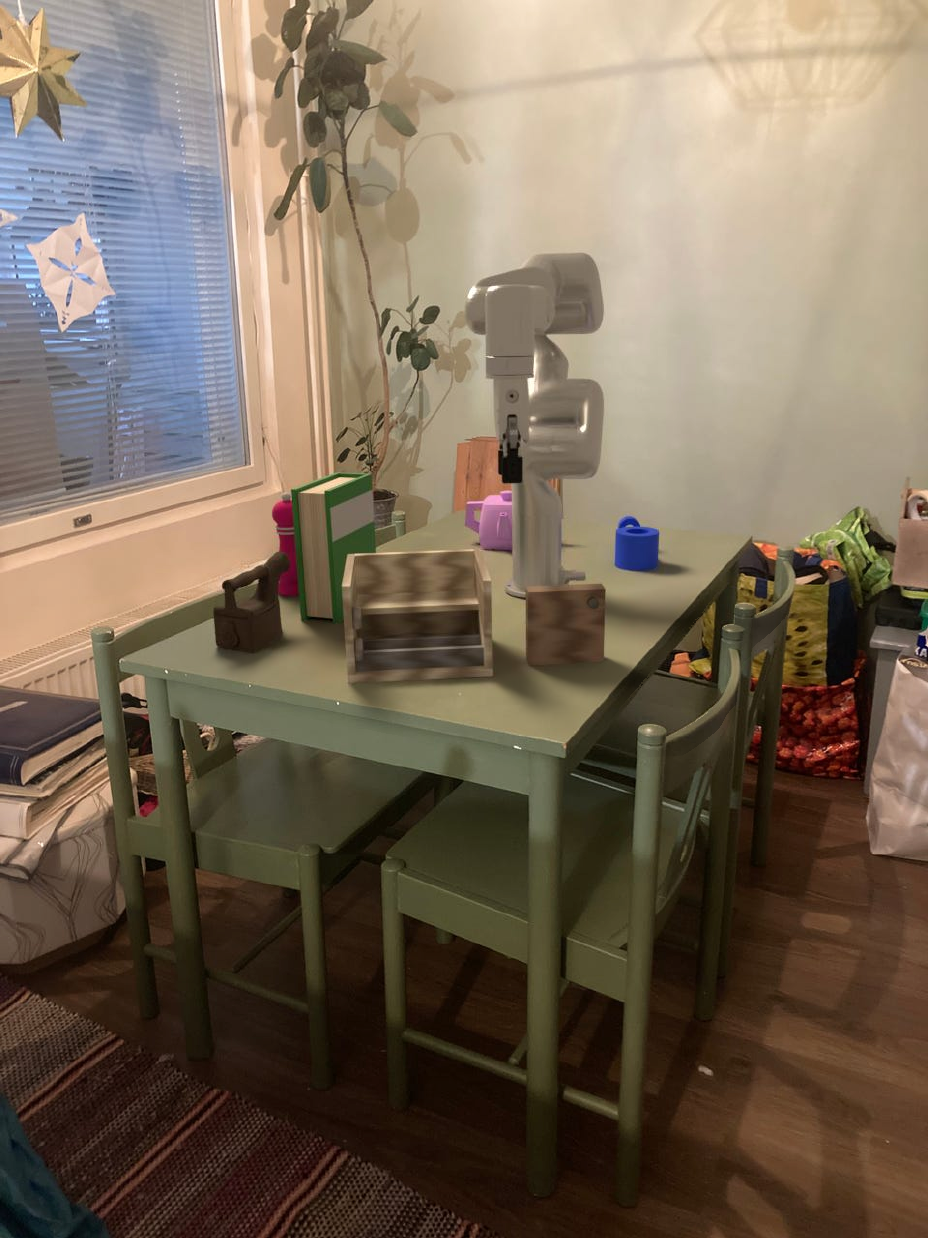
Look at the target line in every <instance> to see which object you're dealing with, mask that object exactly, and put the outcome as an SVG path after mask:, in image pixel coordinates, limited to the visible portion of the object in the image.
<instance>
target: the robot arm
mask: <svg viewBox="0 0 928 1238" xmlns="http://www.w3.org/2000/svg"><path fill="white" fill-rule="evenodd" d="M602 290H603V289H602V283H601V277H600V273H599V269H598V265H597V263H596V262H595V260H594V259H593V257H592V256H591V255H590V254H587V253H586V252H585V253H584V252H562V253H560V252H559V253H558V252H557V253H553V252H552V253H539V254H534V255H533V256H532V255H531V256H530V257H528V258H527V259H526V260H525V261H524V262H523V263H522V264H521V265H520V266H519V268H516V269H512V270H509V271H505V272H503V273H498V274H493V275H491V276H488V277H485V278H482V279H479V280H478V281H477V282H476V283H474V284H473V286H472V287H471V288H470V290H469V292H468V293H467V296H466V299H465V304H464V319H465V323H466V325H467V327H468V329H469V331H471V332H472V333H474V335H479V336H485V379H488V380H490V379H491V380H493V382H492V383H493V385H492V386H493V417H494V418H493V419H494V429H495V431H494V432H495V438H496V440H497V442H498V449H499V450H497V473H498V475H500V476H501V482H502V484H507V485H508V484H510V487H511V491H512V550H511V551H512V579H509V580H507V581H505V583H504V591H505V592H506V593H507V594H509V595H510V596H514V597H517V598H522V599H523V598H525V599H526V587H531V586H555V585H570V581H573V582H574V581H575V582H581V581H582V582H583V581H586V571H585V570H577V569H576V568H574V569H565V568H564V567H563V565H562V535H563V534H562V533H563V531H562V529H563V527H562V524H563V523H562V521H563V519H562V518H563V517H562V514H563V513H562V512H563V509H562V508H563V504H562V499H561V496H560V494H559V492H558V491H557V489H556V488H555V487H554V486H553V485H552V483H551V482H550V481H549V480H558V479H559V480H586V479H591V478H593V477H594V476H595V475H596V474H597V473H598V471H599V467H600V464H601V463H600V462H601V456H602V443H603V442H602V441H603V429H604V427H603V426H604V416H605V400H604V399H605V398H604V392H603V389H602V387H601V385H600V384H599V382H598V381H595V380H593V379H589V378H568V374H569V368H570V367H569V359H568V358H567V356H566V355H565V353H564V351H562V349H561V348H560V347H559V346H558V345H557V343H555V342H554V341H553V340H552V339H550V338H549V337H548V335H590V334H593V333H596V332H597V331H599V329H600V328H601V326H602V324H603V321H604V314H605V312H604V311H605V307H604V305H605V304H604V299H603V297H604V296H603V291H602Z"/></svg>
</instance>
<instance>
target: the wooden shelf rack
mask: <svg viewBox="0 0 928 1238" xmlns="http://www.w3.org/2000/svg"><path fill="white" fill-rule="evenodd" d="M492 591H493V590H492V579H491V576H490V572H489V570H488V567H487V564H486V561H485V558H484V555H483V552H482V548H474V549H473V548H468V549H449V550H446V549H445V550H443V549H442V550H419V551H418V550H417V551H395V552H390V551H389V552H376V553H363V554H348V555H347V561H346V566H345V572H344V577H343V583H342V597H343V612H344V620H343V625H344V641H345V642H344V643H345V655H346V656H345V657H346V658H345V659H346V670H347V671H346V672H347V683H348V684H353V683H354V684H355V683H356V684H357V683H358V684H359V683H376V682H395V681H398V682H399V681H417V680H418V681H420V680H421V681H422V680H438V679H439V680H441V679H442V680H443V679H444V680H445V679H462V678H464V679H465V678H483V677H486V678H487V677H494V674H493V672H494V671H493V668H494V667H493V664H494V663H493V662H494V661H493V610H492V609H493V607H492V605H493V604H492V603H493V602H492V600H493V598H492Z"/></svg>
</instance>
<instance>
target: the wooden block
mask: <svg viewBox="0 0 928 1238" xmlns="http://www.w3.org/2000/svg"><path fill="white" fill-rule="evenodd" d="M605 627H606V587H605V586H604V585H603V583H585V584H583V583H582V584H580V583H579V584H569V585H555V586H531V587H526V598H525V660H526V663H527V666H538V665H539V666H540V665H541V666H542V665H561V664H564V665H565V664H582V663H583V664H584V663H586V664H587V663H604V662H605V634H606V633H605V631H606V629H605Z"/></svg>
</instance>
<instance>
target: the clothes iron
mask: <svg viewBox="0 0 928 1238" xmlns="http://www.w3.org/2000/svg"><path fill="white" fill-rule="evenodd" d="M289 568H290V559H289V557H288V556H287V555H286V554H285V553H284V552H280V551H279V550H278V551H276V552H275V553H274V554H273V555H272V556H271V557H269V558H268V559H267V560H266V561H265V562H264V564H263V565H262V564H261V565H260V564H258V565H256V566H255V567H254V568H252V569H250V570H246V571H244V572H242V573H239V574H237V575H236V576H235V577H232V578H230V579H225V580H224V581H222V584H221V589H222V590H224V605H223V606H221V605H219V606H218V605H217V606H215V607H213V612H212V613H213V624H214V625H213V627H214V635H215V636H214V638H215V644H216V646H217V647H218V648H224V649H228V650H229V649H231V650H238V651H242V650H243V651H244V652H248V651H249V653H257V652H259V651H261V650H263V649H265V648H267V647H268V646H271V645H272V644H273V643H275V642H276V641H277V640H279V638H280V637H281V636H282V634H283V626H282V617H281V605H280V599H279V593H278V586H279V582H280V581H279V580H280V577H281V574H282V573H285V572H287V571H288V570H289ZM255 581H257V585H256V590H255V592H254V593H253V595H252V596H251V597H250V598H247V599H244V600H241V601H237V602H236V598H235V597H236V596H235V592H236V591H237V590H238V589H243V588H246V587H248V586H250V585H252V584H253V583H255ZM243 651H242V652H243Z"/></svg>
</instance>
